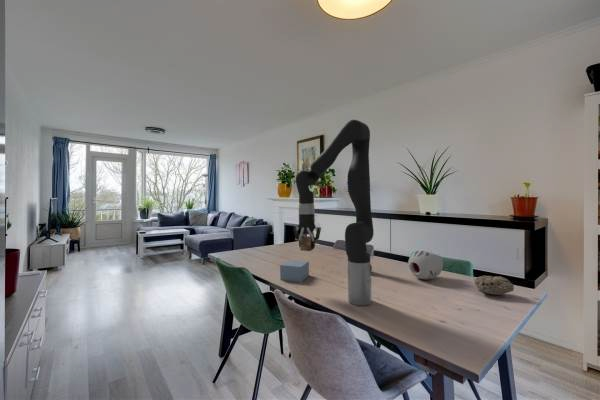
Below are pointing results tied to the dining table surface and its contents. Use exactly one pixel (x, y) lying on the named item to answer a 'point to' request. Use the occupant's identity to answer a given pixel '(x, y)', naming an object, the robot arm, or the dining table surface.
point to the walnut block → (305, 243)
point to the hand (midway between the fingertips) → (307, 248)
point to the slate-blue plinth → (294, 270)
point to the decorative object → (425, 264)
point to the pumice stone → (493, 285)
